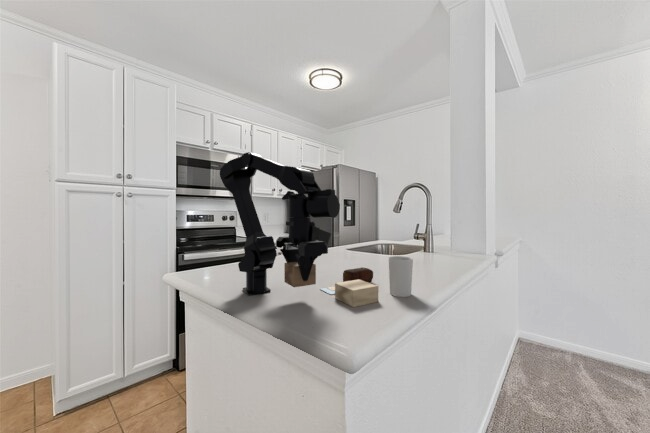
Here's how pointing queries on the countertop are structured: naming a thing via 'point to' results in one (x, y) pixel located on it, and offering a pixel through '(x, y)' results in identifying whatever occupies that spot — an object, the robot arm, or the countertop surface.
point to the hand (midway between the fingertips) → (299, 278)
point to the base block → (356, 292)
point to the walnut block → (298, 275)
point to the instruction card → (329, 290)
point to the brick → (358, 274)
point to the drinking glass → (400, 275)
